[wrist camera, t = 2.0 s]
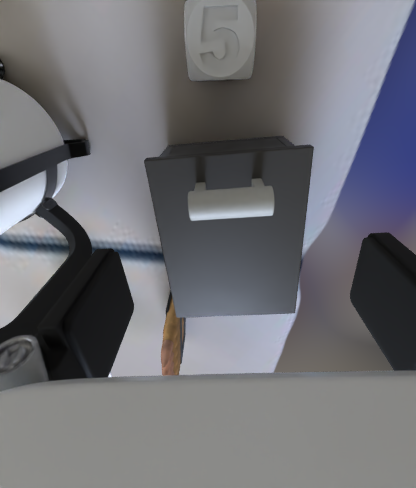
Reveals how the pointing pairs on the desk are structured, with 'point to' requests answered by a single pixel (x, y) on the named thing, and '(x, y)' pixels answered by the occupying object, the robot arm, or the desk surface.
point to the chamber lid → (232, 228)
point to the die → (220, 39)
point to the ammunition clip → (172, 341)
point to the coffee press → (37, 192)
